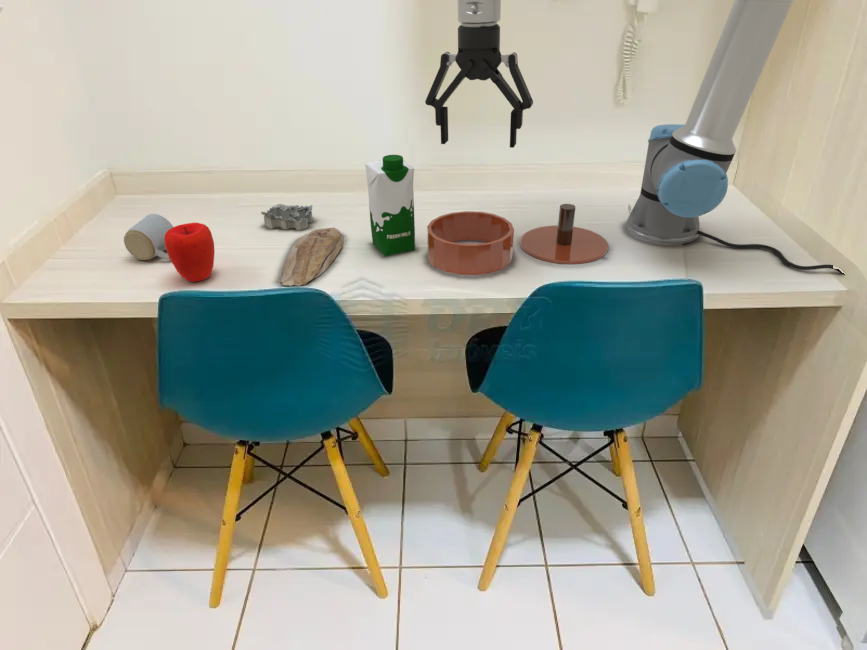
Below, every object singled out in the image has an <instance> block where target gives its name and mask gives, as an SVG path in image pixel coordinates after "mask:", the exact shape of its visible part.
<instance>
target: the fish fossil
mask: <svg viewBox="0 0 867 650" xmlns="http://www.w3.org/2000/svg"><path fill="white" fill-rule="evenodd" d="M343 246H344V236H343V234H342V233H341V231H340V230H339V229H337V228H336V227H326V228H319V229H314V230H311V231H310V232H308V233H307V234H305V235H303V236H302V237H300V238H298V239H297V240H296V241H295V243H294V244H293V246H292V247H291V248H290V251H289V254H288V256H287V258H286V260H285V263H284V265H283V268H282V271H281V274H280V278H279V279H278V282H280V283H281V284H282V286H290V287H292V286H297V287H300V286H305V285H307V284H308V283H309V282H310V281H313V280H315V279H316V278H318V277H319V276H321V275H322V274H323V273H324V272H325V271H326V270H328V268H329V267H330V265H331V264H332V263H333V261H334V260H335V259H336V257H337V256H338V254H339V253H340V252H341V250H342V248H343Z"/></svg>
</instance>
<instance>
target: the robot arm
mask: <svg viewBox="0 0 867 650" xmlns="http://www.w3.org/2000/svg"><path fill="white" fill-rule="evenodd" d="M456 1H457V22H458V23H460V25H459V26H458V27H457V53H451V52H450V51H445V52H444V53H442V54H441V55H440V62H439V63H440V64H439V68H438V71H437V73H436V75H435V78H434V80H433V82H432V84H431V87H430V88H429V92H428V94H427V96H426V99H425V101H424V103H425V105H426V106H431V107H432V108H434V111H435V112H434V115H435V125H436V126H439V127H440V144H441V145H446V144H447V143H448V141H449V107H448V106H444V105H445V104H446V102H447V101H448V100H449V98H451V96H452V95H453V93H455V91H456V90H457V88H458V87H459V86H460V85H461V84H462V82H463V81H464V80H465V78H466V79H468V80H469V81H474V80H479V81H487V80H489V79H490V81H491V83H493V84H494V85H495V86H496V87H497V88H498V90H499V92H501V94H502V95H503V96H504V97H505V99H506V101H508V103H509V105H511V107H512V108H513V109H512V110H511V111H510V126H509V127H510V128H509V148H511V149H512V148H513V149H514V148H515V147H516V145H517V131H518V130H521V128H522V127H523V122H524V121H523V117H524V110H529V109H531V107H532V106H533V105H534V100H533V98H532V95H531V93H530V90H529V88H528V86H527V84H526V81H525V79H524V76H523V74H522V72H521V69H520V67H519V62H518V61H519V60H518V54H517V52H512V53H510V54H509V53H508V54H502V53H501V26H500V25H499V24H498V22H500V21H501V11H502V9H501V5H502V4H501V2H502V0H456ZM793 2H794V0H734V1H733V3H732V6H731V8H730V11H729V13H728V15H727V18H726V21H725V23H724V26H723V28H722V31H721V34H720V36H719V38H718V41H717V43H716V45H715V48H714V51H713V53H712V56H711V58H710V60H709V63H708V66H707V68H706V71H705V74H704V76H703V79H702V80H701V84H700V86H699V89H698V91H697V94H696V96H695V99H694V101H693V104H692V105H691V109H690V110H689V113H688V116H687V118H686V122H685V123H684V124H676V123H675V124H674V123H673V124H672V123H671V124H668V123H667V124H658V125H655V126H653V127H652V129H651V131H650V135H649V138H648V140H647V143H648V144H647V150H646V157H645V158H646V159H645V163H644V169H643V175H642V181H641V188H640V193H639V196H638V198H637V200H636V202H635V204H634V206H633V207H632V208H631V204H628V207H627V210H628V213H629V214H628V218H627V220H626V230H627V232H629V233H630V234H631V235H633V236H634V237H637V238H640V239H641V240H645V241H648V242H653V243H659V244H671V245H672V244H682V245H685V244H689V243H692V242H694V241H696V240H697V239H698V237H699V236H702V237H704V238H708V239H710V240H712V241H715V242H716V243H718V244H721V245H723V246H726V247H730V248H734V249H735V248H736V249H753V248H754V249H755V248H756V249H764V250H768V251H771V252H773V253H774V254H776V256H777V257H778V258H779V259H780V260H781V262H783V263H784V264H785V265H786V266H788V267H790V268H793V269H795V270H799V271H801V270H802V271H811V270H820V269H821V270H822V269H831V270H834V271H836V272H838V273H839V274H840V275H842V276H846V275H845V274H844V273H842V272H841V271H840V270H839V269H833V265H834V264H816V265H799V264H795V263H792V262H791V261H789V260H788V259H787V258H786V257H785V256H784V254H783V253H782V252H781V251H780V250H779V249H777V248H775V247H774V246H771V245H766V244H760V243H748V244H737V243H731V242H727V241H726V240H723V239H721V238H719V237H716V236H714V235H712V234H709V233H706V232H703V231H702V230H701V231H700V228H701V227H700V218H699V217H702V216H703V215H706V214H708V213H710V212H712V211H713V210H715V209H716V208H717V207H718V206H719V205H720V204H721V203H722V201H724V199H725V197H726V195H727V192H728V189H729V188H728V187H729V178H728V175H727V173H728V171H729V169H730V166H731V164H732V162H733V159H734V156H735V154H736V153H737V148H736V146H735V143H734V141H733V138H734V135H735V133H736V131H737V129H738V127H739V124H740V122H741V119H742V118H743V115H744V113H745V111H746V108H747V106H748V104H749V102H750V100H751V97H752V96H753V93H754V90H755V89H756V85H757V84H758V82H759V79H760V77H761V75H762V72H763V71H764V68H765V65H766V63H767V61H768V59H769V57H770V54H771V52H772V50H773V47H774V46H775V43H776V41H777V38H778V36H779V34H780V32H781V30H782V27H783V25H784V23H785V21H786V18H787V17H788V13H789V12H790V9H791V7H792V5H793ZM454 62H455V63H456V65H457V66H458V68H459V69H460V71H459V72H458V73H457V74H456V76H454V79H453V80H452V81H451V82H450V84H449V85H448V86H447V88H446V89H445V90H444V92H443V93H442V94H441V96H440V97H439V98H437V96H438V94H439V92H440V89H441V87H442V85H443V83H444V80H445V77H447V74H448V71H449V68H450V67H451V66H453V64H454ZM502 63H503V64H504V66H505V67H506V68H508V70H509V73H510V75H511V78H512V80H513V82H514V85H515V87H516V89H517V92H518V94H519V96H520V98H519V97H518V95H517V94H516V92H515V91H514V90H513V88H512V87H511V86H510V85H509V83H508V82H507V80H506V79H505V78H504V76H503V74H502V73H501V71H500V70H499V69H498V68H499V66H500V65H501V64H502Z"/></svg>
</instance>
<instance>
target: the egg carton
mask: <svg viewBox="0 0 867 650" xmlns="http://www.w3.org/2000/svg"><path fill="white" fill-rule="evenodd" d="M260 213H261V215H262V216H263V222H264V226H265V227H266V228H268V229H270V230H272V229H275V228H281V229H282V230H289V229H296V231H301V230H305V229H308V227H309V223H312V222H313V221H314V220H313V204H311V205H305V206H304V205H301V206H299V204H296V205H291V204H290V205H286V204H282V203H278V204H275V205H273V206H272V207H269V209H267V211H261V212H260Z"/></svg>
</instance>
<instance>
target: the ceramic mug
mask: <svg viewBox="0 0 867 650" xmlns="http://www.w3.org/2000/svg"><path fill="white" fill-rule="evenodd" d="M173 227H174V226H173V224H172V223H171V221H169V220H168V219H167V218H166V217H164V216H163V215H160V214H157V213H150V214H147V215H146V216H144V217H143V218H142V219H141V220H139V221H138V222H137V223H135V224H134V225H133V226H132V227H130V228H129V229H128V230H127V231H126V233H125V234H124V236H123V244H124V247H125V249H126V250H127V251H128V253H129V254H130V255H131V256H132V257H134V258H135V259H137V260H140V261H149V260H152V259H154V258H156V257H159V258H161V259H164V260H170V258H169V256H168V253H167V252H165V251H167V250H166V247H165V234H166V232H167V231H168V230H169V229H171V228H173Z"/></svg>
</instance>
